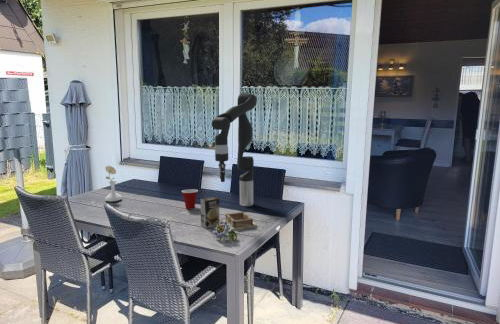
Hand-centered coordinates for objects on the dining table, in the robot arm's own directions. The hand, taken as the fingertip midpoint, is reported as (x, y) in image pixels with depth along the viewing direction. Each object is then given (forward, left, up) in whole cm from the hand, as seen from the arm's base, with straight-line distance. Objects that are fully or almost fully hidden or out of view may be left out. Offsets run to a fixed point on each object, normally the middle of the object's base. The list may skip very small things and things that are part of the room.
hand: (222, 180), depth 212 cm
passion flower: (+25, -7, -26) cm, 36 cm away
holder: (+7, +7, -25) cm, 27 cm away
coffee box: (+3, -9, -25) cm, 27 cm away
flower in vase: (-73, -59, -25) cm, 97 cm away
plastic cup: (-35, -12, -25) cm, 45 cm away
